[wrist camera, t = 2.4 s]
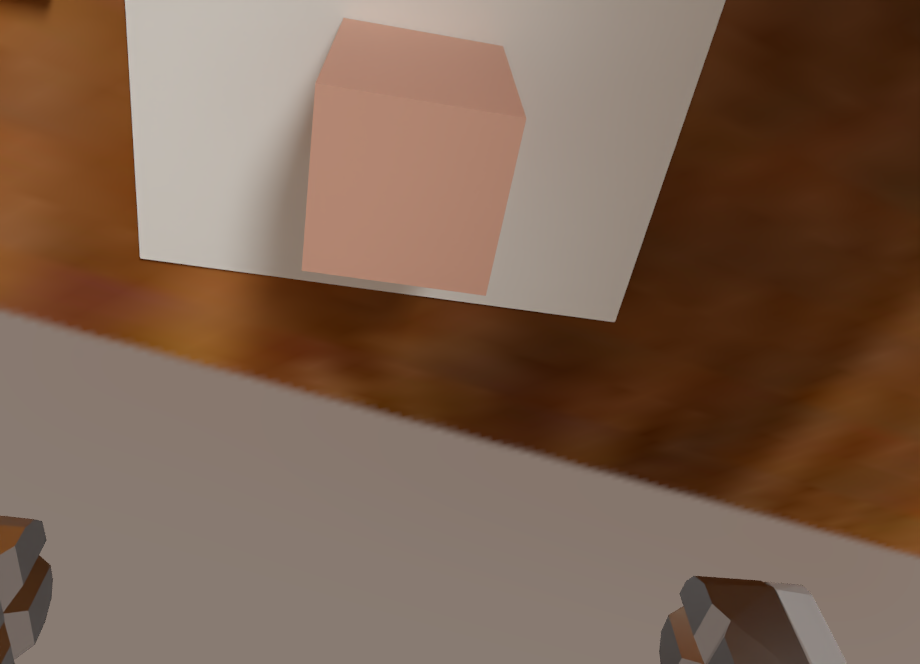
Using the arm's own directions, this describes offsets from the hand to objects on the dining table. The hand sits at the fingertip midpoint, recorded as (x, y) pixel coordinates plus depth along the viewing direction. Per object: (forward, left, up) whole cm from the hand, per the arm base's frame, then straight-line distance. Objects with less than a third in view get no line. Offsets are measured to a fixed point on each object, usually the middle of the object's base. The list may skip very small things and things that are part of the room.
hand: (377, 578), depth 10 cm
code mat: (0, 0, -19) cm, 19 cm away
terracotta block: (0, 0, -19) cm, 19 cm away
